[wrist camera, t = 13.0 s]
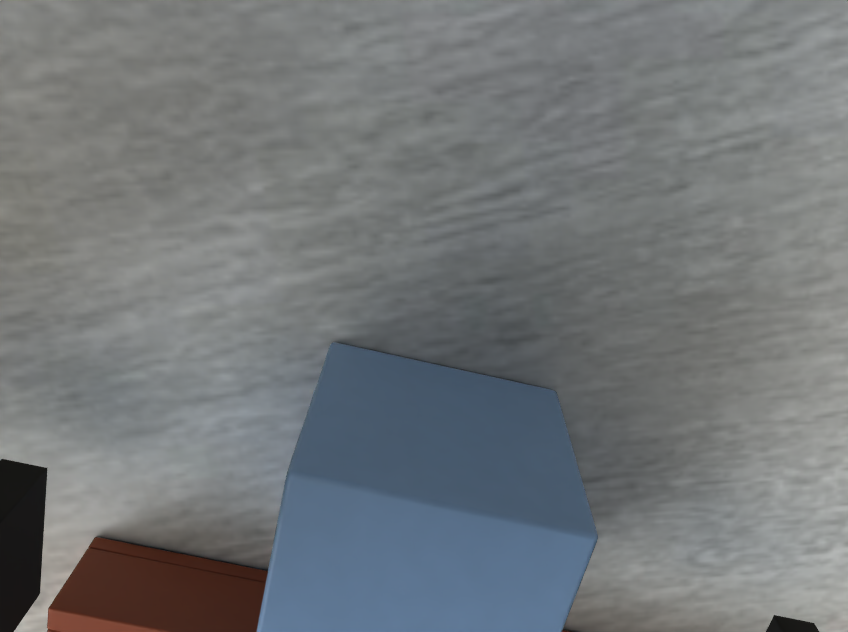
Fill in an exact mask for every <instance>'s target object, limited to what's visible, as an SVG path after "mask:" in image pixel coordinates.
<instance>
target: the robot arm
mask: <svg viewBox="0 0 848 632" xmlns="http://www.w3.org/2000/svg"><path fill="white" fill-rule="evenodd" d="M46 481H47V468H44V467H39V466H34V465H29V464H24V463H19V462H14V461H9V460H5V459H1V460H0V632H14V630H15V629H16V627H17V626H18V625H19V623H20V622H21V620H22V619H23V617H24V616H25V614H26V613H27V612H28V610H29V609H30V607H31V606H32V604H33V603H34V601H35V600H36V599H37V597H38V596H39V594H40V582H41V565H42V548H43V531H44V515H45V498H46ZM766 632H819V631H818V629H817V627H816V626H815V624H814V623H810V622H805V621H800V620H795V619H790V618H786V617H781V616H776V615H774V617H773V619H772V621H771V623H770V625H769V627H768V629H767V631H766Z"/></svg>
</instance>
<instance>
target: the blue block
mask: <svg viewBox="0 0 848 632" xmlns="http://www.w3.org/2000/svg"><path fill="white" fill-rule="evenodd" d="M597 540H598V534H597V530H596V527H595V524H594V520H593V517H592V513H591V510H590V506H589V503H588V499H587V496H586V492H585V489H584V486H583V482H582V479H581V475H580V472H579V468H578V465H577V461H576V458H575V454H574V451H573V447H572V444H571V441H570V437H569V434H568V430H567V427H566V423H565V420H564V416H563V413H562V409H561V406H560V403H559V399H558V396H557V392H556V391H554V390H550V389H546V388H541V387H537V386H532V385H527V384H523V383H518V382H514V381H509V380H505V379H500V378H495V377H491V376H486V375H482V374H477V373H473V372H468V371H464V370H459V369H454V368H450V367H445V366H441V365H436V364H432V363H427V362H422V361H418V360H413V359H409V358H404V357H400V356H395V355H391V354H386V353H381V352H377V351H372V350H368V349H363V348H359V347H354V346H349V345H345V344H340V343H336V342H334V343H331V345H330V346H329V349H328V352H327V355H326V358H325V361H324V364H323V367H322V370H321V373H320V376H319V379H318V382H317V385H316V388H315V391H314V394H313V397H312V400H311V403H310V406H309V409H308V412H307V415H306V418H305V421H304V424H303V427H302V430H301V433H300V436H299V439H298V442H297V445H296V448H295V451H294V454H293V456H292V459H291V462H290V465H289V468H288V471H287V475H286V480H285V485H284V490H283V496H282V501H281V506H280V511H279V517H278V522H277V527H276V532H275V537H274V543H273V548H272V553H271V558H270V563H269V569H268V574H267V579H266V584H265V590H264V595H263V600H262V605H261V610H260V616H259V621H258V626H257V631H256V632H562V630H563V627H564V625H565V622H566V619H567V617H568V614H569V612H570V609H571V607H572V604H573V601H574V599H575V596H576V594H577V591H578V589H579V586H580V583H581V581H582V578H583V576H584V573H585V571H586V568H587V565H588V563H589V560H590V558H591V555H592V552H593V550H594V547H595V545H596V542H597Z"/></svg>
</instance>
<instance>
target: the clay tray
mask: <svg viewBox="0 0 848 632" xmlns="http://www.w3.org/2000/svg"><path fill="white" fill-rule="evenodd" d="M267 574H268V571H265V570H260V569H255V568H250V567H245V566H240V565H235V564H230V563H225V562H220V561H215V560H210V559H204V558H199V557H194V556H189V555H184V554H179V553H174V552H169V551H164V550H159V549H154V548H149V547H144V546H139V545H134V544H129V543H124V542H119V541H114V540H109V539H104V538H99V537H95V538H94V540H93V541H92V543H91V544H90V546H89V548H88V549H87V551H86V552H85V554H84V555H83V557H82V558H81V560H80V561H79V563H78V564H77V566H76V567H75V569H74V570H73V572H72V574H71V575H70V577H69V578H68V580H67V581H66V583H65V584H64V586H63V587H62V589H61V590H60V592H59V593H58V595H57V596H56V598H55V599H54V601H53V602H52V604H51V606H50V607H49V609H48V625H47V628H48V630H47V632H256V631H257V626H258V621H259V616H260V610H261V605H262V600H263V595H264V590H265V584H266V579H267ZM562 632H571V631H566V630H562Z"/></svg>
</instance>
